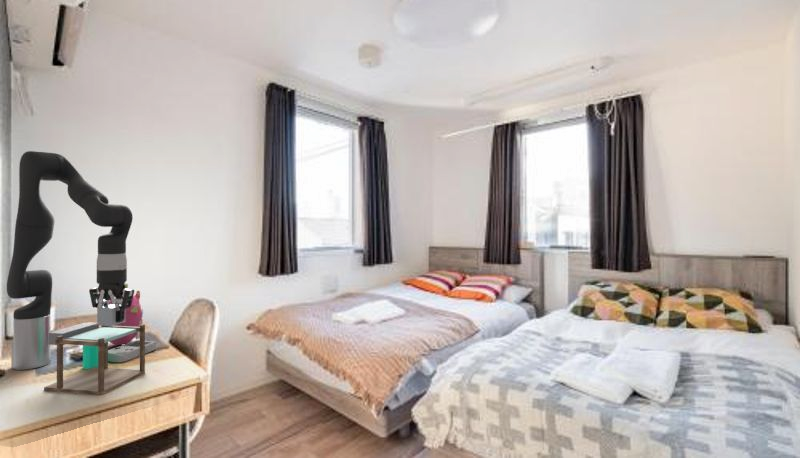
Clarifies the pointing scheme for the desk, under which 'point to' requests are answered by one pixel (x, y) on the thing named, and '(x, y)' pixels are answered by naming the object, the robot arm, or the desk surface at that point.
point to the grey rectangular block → (107, 315)
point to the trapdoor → (90, 333)
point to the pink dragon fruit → (130, 319)
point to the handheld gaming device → (129, 351)
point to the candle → (90, 356)
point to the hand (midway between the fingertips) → (111, 321)
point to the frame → (96, 368)
